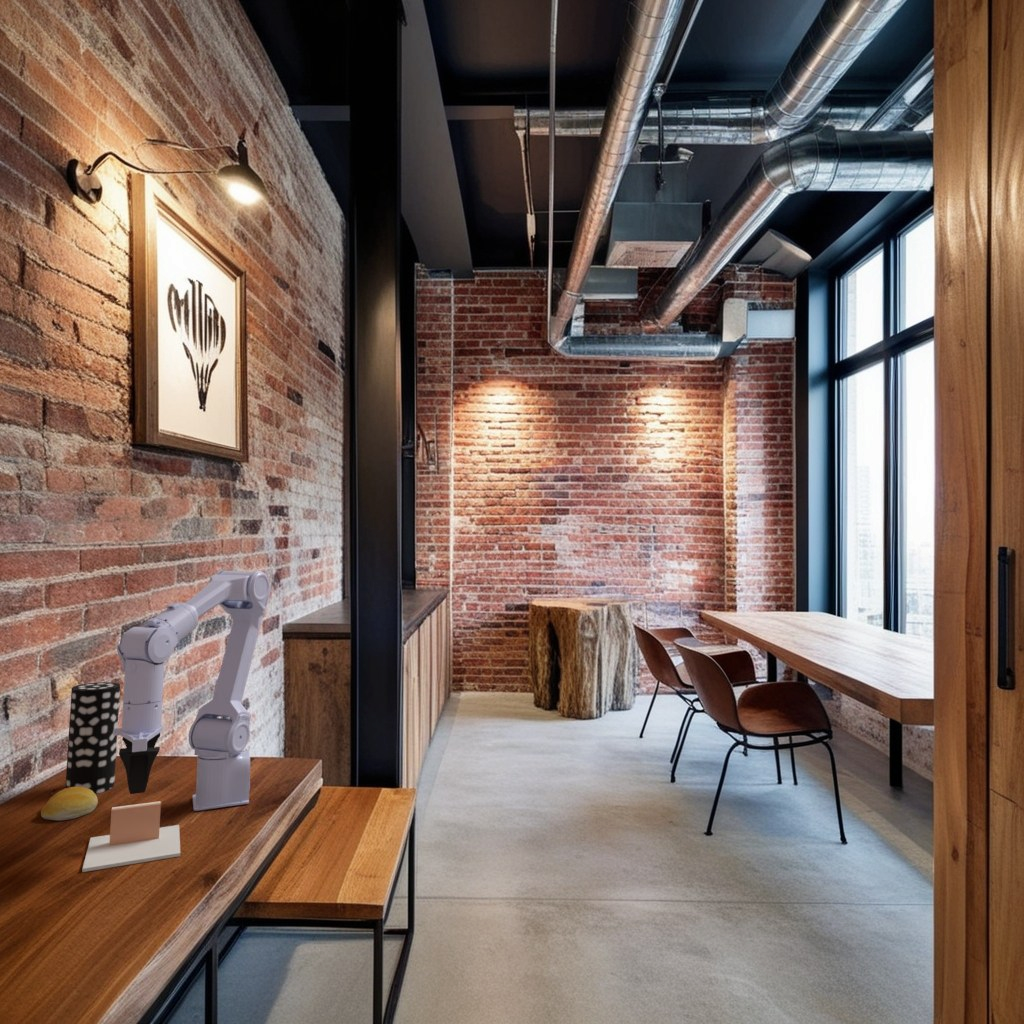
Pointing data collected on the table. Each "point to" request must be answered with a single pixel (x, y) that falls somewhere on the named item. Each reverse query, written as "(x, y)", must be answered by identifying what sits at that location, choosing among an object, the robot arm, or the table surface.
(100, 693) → the spotted tube
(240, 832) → the table surface
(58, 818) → the bread roll
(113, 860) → the mat
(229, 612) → the robot arm
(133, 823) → the tile
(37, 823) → the table surface
